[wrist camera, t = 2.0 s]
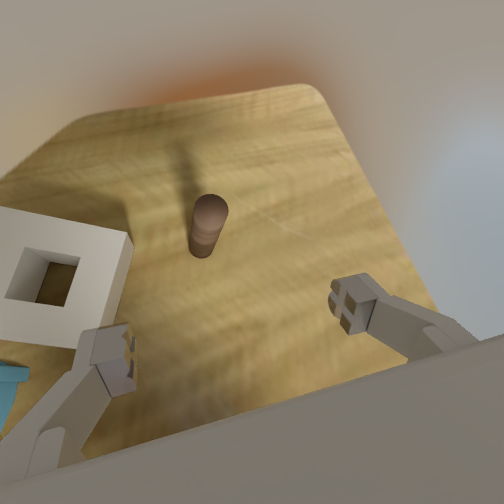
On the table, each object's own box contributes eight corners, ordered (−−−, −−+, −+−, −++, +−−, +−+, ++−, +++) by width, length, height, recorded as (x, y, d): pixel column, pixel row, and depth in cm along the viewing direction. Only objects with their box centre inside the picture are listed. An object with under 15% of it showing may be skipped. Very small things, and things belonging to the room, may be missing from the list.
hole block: (106, 348, 32) (91, 351, 27) (-16, 332, 30) (-60, 331, 24) (134, 248, 36) (126, 232, 30) (27, 227, 34) (-2, 205, 28)
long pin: (210, 260, 38) (225, 228, 27) (186, 255, 37) (191, 221, 26) (215, 238, 39) (231, 198, 28) (191, 233, 38) (198, 190, 27)
